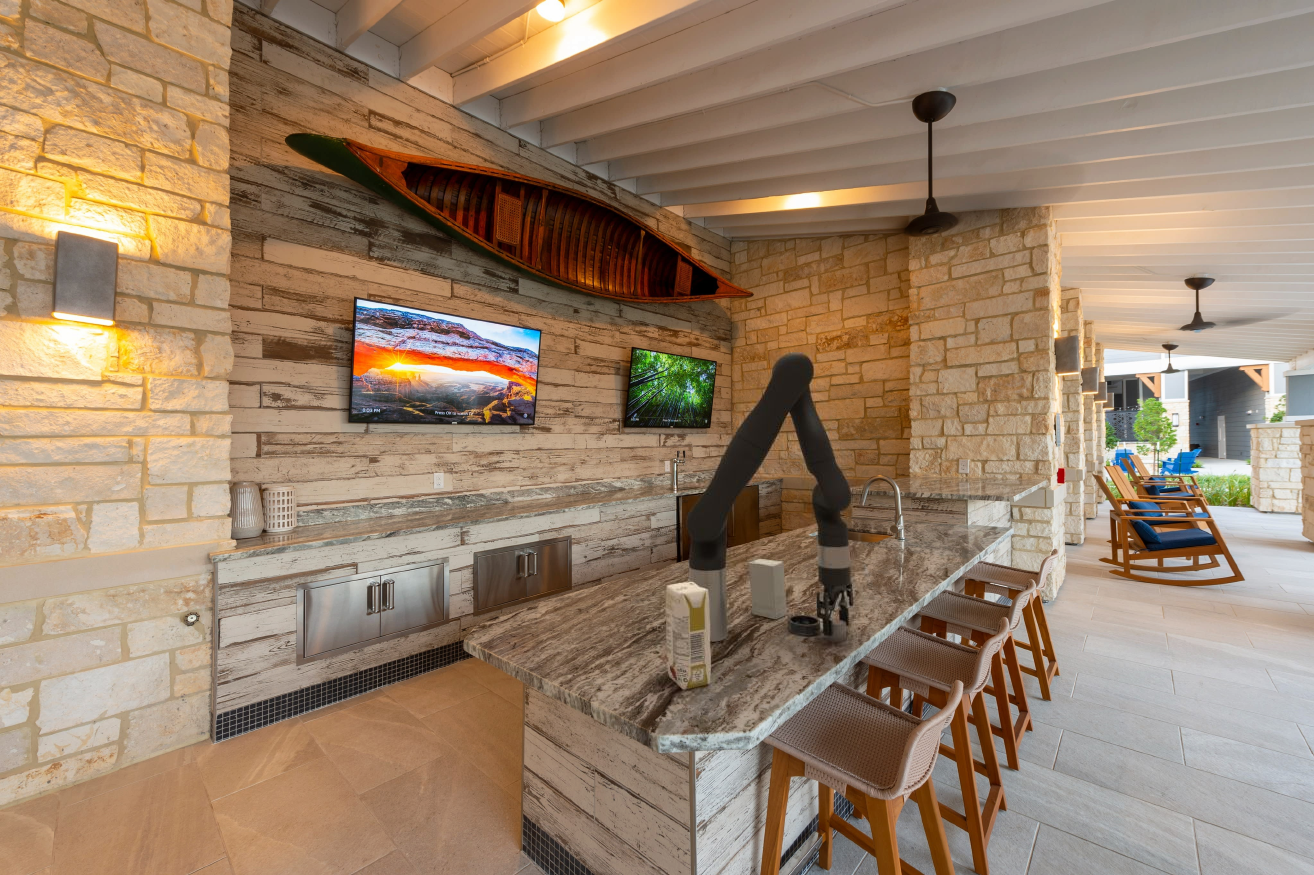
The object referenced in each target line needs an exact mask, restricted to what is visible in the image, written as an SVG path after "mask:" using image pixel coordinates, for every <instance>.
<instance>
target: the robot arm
mask: <svg viewBox="0 0 1314 875" xmlns="http://www.w3.org/2000/svg"><path fill="white" fill-rule="evenodd" d="M814 368H815V367H814V364H813V362H812V359H811V358H810V357H809V356H807V355H806V354H804V353H802V352H789V353H786V354H784V355H782V356H781V357H779V359H778V360H776V362H775V363H774V365H773V366H772V369H771V378H770V380H769V382H768V385H767V386H766V388H765V391H764V393H763V394H762V396H761V398H760V399H759V401H758V402H757V404H756V405H755V406H754V407H753V408H752V410H751V411H750V412H749V414H748V415H747V416H746V417H745V419H743V421H742V423H741V424H740V425H739V427H738V429H737V430H736V431H735V434H734V435H733V437H732V439H731V440H730V441H729V444H728V446H727V448H726V449H725V451H724V453H723V455H722V457H721V459H720V461H719V463H718V466H717V468H716V470H715V472H714V474H713V477H712V479H711V481H710V483H709V484H708V486H707V488H706V489H705V490H704V492H703V494H702V495H701V496H700V498H699V499H698V500H697V502H696V503H695V504H694V506H693V507H692V508H691V509H690V511H689V512H688V514H687V515H686V516H687V517H686V521H685V522H686V523H685V524H686V531H687V533H688V534H689V536H690V546H689V547H690V549H689V554H688V566H689V569H688V572H689V574H688V576H689V582H694V583H695V584H697V585H698V586H699V587H702V588H705V589H708V594H709V606H710V643H711V642H712V643H714V642H719V641H724V640H725V639H727V638H728V602H727V601H728V599H727V598H728V595H727V594H728V591H727V551H728V550H727V548H728V546H727V537H728V536H727V518H728V517H729V514H730V511H731V510H732V507H733V505H734V504H735V502H736V500H737V499H738V497H739V496H740V495H741V493H742V491H743V490H744V489H745V488H746V486H747V485H748V484H749V483H750V481H751V480H752V479H753V478H754V476H755V474H756V473H757V472H758V470H759V469H760V468H761V466H762V464H764V463H763V462H764V460H765V459H766V458H767V456H768V454H769V452H770V451H771V448H772V447H773V444H774V443H775V441H776V439H777V437H778V435H779V434H780V431H781V429H782V427H783V425H784V422H785V420H786V418H787V416H788V414H789V415H790V418H791V421H792V424H793V427H794V431H795V434H796V437H797V440H798V444H799V448H800V450H801V453H802V457H803V460H804V463H805V465H806V466H805V467H806V469H807V471H808V472H809V474H810V475H812V476H814V478H815V480H816V482H817V483H816V484H815V486H814V487H813V489H812V494H811V504H812V508H813V513H814V518H815V521H816V524H817V545H818V546H817V574H818V578H817V579H818V582H819V583H820V584H822V586H824V587H823V592H820V591H817V592H816V618H818V619H821V620H822V634H823V636H824V635H827V636H832V635H833V620H832V619H834V618H833V617H834V615H835V612H837V611H838V619H840V620H843V621H845V622H846V628H847V627H849V625H850V614H849V613H850V611H851V607H853V606H854V593H853V592H854V591H853V583H852V575H851V572H852V571H851V553H850V546H849V530H848V528H849V527H848V525H847V523H846V521H844V520H843V518H842V516H841V512H843V511H845V510H846V509H848V508H849V507H850V505H851V502H852V491H851V488H850V485H849V482H848V481H847V479H846V477H845V475H844V473H843V470H841V468H840V466H839V465H838V463H837V461H836V457H835V453H834V450H833V447H832V444H831V441H830V438H829V435H828V434H827V433H828V432H827V431H826V429H825V427H824V424H823V423H822V421H821V418H820V416H819V414H818V411H817V409H816V407H815V404H814V401H813V397H812V392H811V387H810V384H811V383H812V381H813V379H814V374H815V373H814V372H815V369H814Z"/></svg>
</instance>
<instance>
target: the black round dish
mask: <svg viewBox="0 0 1314 875" xmlns="http://www.w3.org/2000/svg"><path fill="white" fill-rule="evenodd" d="M787 629H788V632H790V633H791V634H793V635H797V636H801V637H802V636H803V637H814V636H818V635H820V633H821V620H820V618H817V616H813V615H812V616H811V615H805V614H799V615H791V616H789V617H788V619H787Z"/></svg>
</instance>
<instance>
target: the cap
mask: <svg viewBox="0 0 1314 875" xmlns="http://www.w3.org/2000/svg"><path fill="white" fill-rule="evenodd" d="M832 620H833V635H832V636H827V635H824V634H823V639H824V640H826V641H827V642H831V643H836V644H837V643H839V644H840V643H845V642H846V641H847V627H846V622H845V621H843V620H840V619H839V618H832Z"/></svg>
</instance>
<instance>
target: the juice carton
mask: <svg viewBox="0 0 1314 875" xmlns="http://www.w3.org/2000/svg"><path fill="white" fill-rule="evenodd" d="M665 591H666V592H665V630H666V631H665V633H666V634H665V637H666V638H665V639H666V643H665V644H666V667H667V674H668V676H669V678H670V679H671V680H672V681H673V682H675V683H676V684H677V685H678V686H679V688H681V689H682V690H689V689H693V688H698V687H702V686H705V685H709V684H711V674H712V673H711V672H712V659H711V658H712V657H711V656H712V654H711V651H712V650H711V642H710V606H709V594H708V589H705V588H702V587H699V586H698V585H697V584H695V583H694V582H690V581H688V582H687V581H686V582H679V583H673V584H666V590H665Z"/></svg>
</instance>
